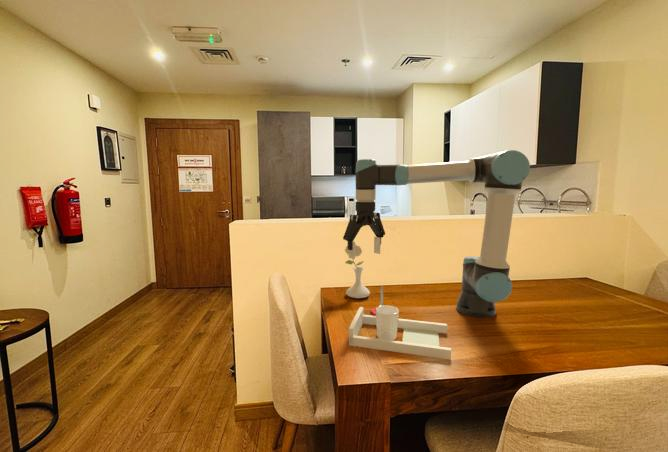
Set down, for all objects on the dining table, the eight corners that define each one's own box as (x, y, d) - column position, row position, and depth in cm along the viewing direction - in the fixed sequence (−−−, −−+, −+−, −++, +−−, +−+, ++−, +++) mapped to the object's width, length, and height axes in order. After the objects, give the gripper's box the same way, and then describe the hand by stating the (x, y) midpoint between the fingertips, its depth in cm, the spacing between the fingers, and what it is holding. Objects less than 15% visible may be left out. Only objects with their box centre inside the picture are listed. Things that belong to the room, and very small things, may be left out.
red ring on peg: (371, 309, 138) (370, 317, 128) (372, 279, 136) (371, 285, 127) (391, 310, 136) (391, 318, 127) (392, 280, 135) (392, 286, 126)
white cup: (373, 331, 116) (373, 305, 114) (394, 331, 116) (395, 304, 115) (378, 342, 108) (378, 314, 106) (400, 341, 108) (401, 313, 107)
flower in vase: (374, 294, 154) (374, 243, 150) (363, 302, 144) (363, 248, 141) (350, 290, 160) (350, 241, 157) (338, 296, 151) (338, 244, 148)
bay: (446, 331, 116) (447, 316, 115) (450, 359, 97) (451, 341, 97) (359, 321, 124) (359, 306, 123) (348, 345, 106) (348, 328, 105)
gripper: (380, 199, 132) (379, 249, 134) (333, 201, 116) (333, 258, 119) (394, 200, 126) (393, 252, 129) (347, 202, 110) (346, 262, 113)
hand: (364, 255), depth 124 cm, fingers open, 13 cm apart
